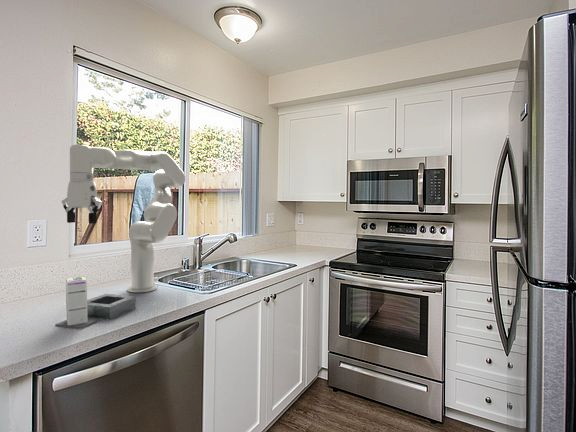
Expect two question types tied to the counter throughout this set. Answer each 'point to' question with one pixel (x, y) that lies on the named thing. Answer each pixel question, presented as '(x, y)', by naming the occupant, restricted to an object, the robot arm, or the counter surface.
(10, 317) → the counter surface
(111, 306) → the gray square frame
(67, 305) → the syrup box
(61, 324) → the charcoal mat
